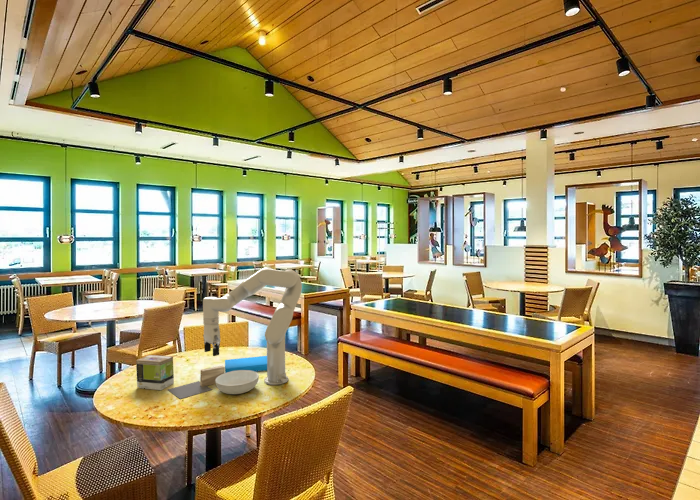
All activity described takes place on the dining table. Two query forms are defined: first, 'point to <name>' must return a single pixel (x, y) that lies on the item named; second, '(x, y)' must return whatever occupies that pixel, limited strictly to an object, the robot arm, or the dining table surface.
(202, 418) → the dining table surface
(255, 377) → the serving bowl
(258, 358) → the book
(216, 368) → the brown wooden block
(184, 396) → the mat
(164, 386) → the tea box
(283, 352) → the robot arm
